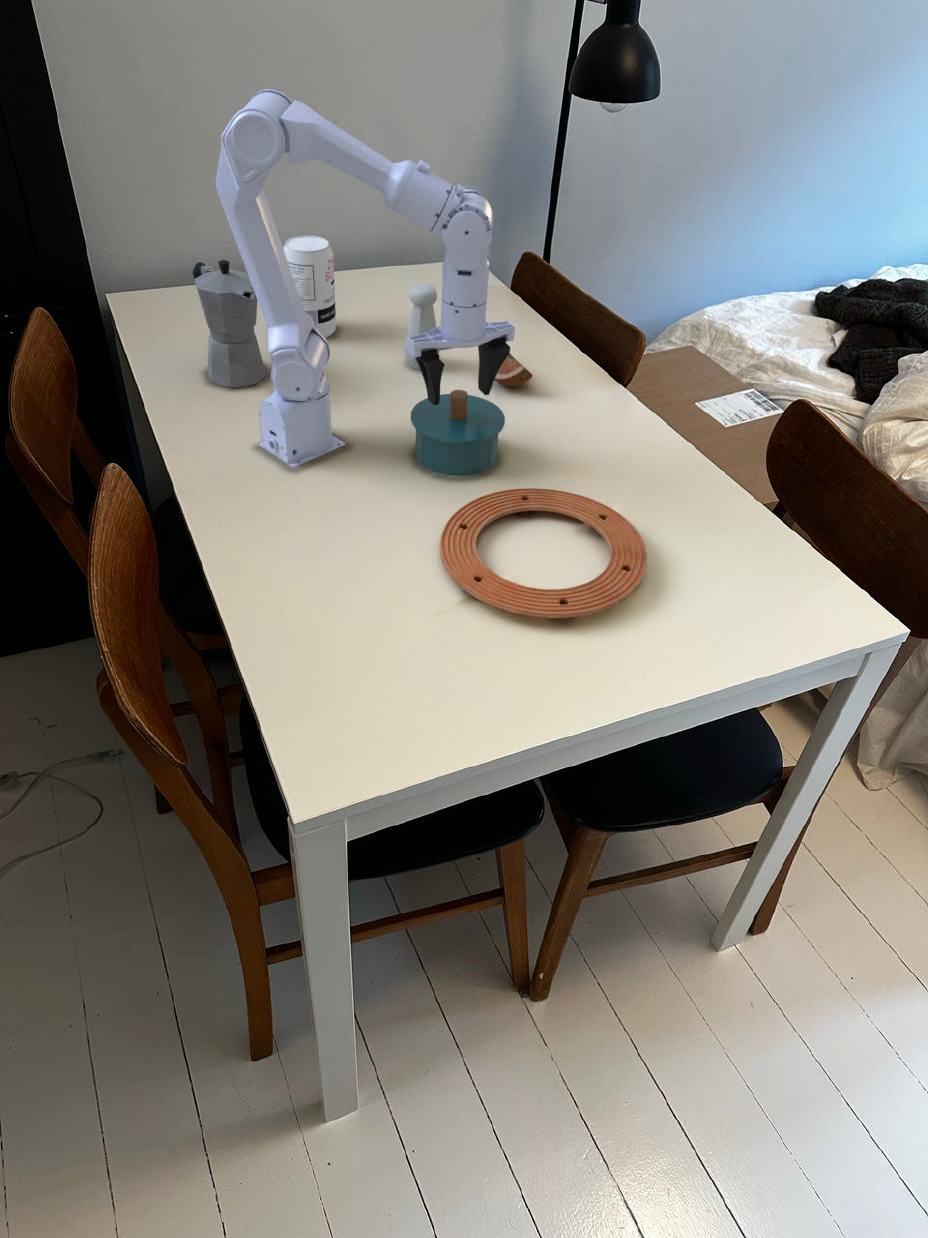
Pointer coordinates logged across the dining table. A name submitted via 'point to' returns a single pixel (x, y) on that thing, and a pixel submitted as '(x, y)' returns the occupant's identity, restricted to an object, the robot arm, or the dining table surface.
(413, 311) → the salt shaker
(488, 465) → the tin
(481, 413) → the lid
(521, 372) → the fruit slice
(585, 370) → the dining table surface
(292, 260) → the supplement can
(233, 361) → the coffeepot
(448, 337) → the robot arm
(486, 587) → the ring
